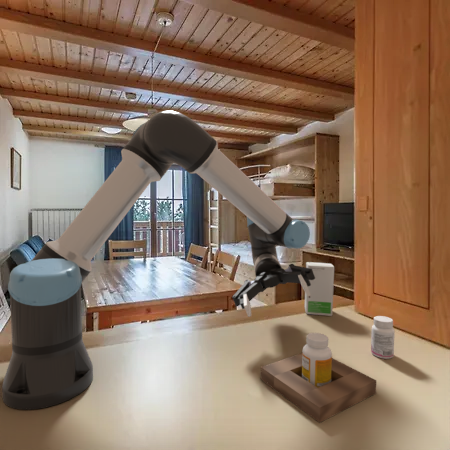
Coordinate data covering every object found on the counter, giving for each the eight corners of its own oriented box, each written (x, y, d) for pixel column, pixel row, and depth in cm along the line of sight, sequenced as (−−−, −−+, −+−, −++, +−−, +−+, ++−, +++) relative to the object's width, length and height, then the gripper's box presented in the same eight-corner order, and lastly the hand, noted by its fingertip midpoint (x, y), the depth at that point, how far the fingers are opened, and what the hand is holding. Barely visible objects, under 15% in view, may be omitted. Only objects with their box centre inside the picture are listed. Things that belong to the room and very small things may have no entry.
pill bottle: (374, 347, 78) (375, 313, 78) (395, 353, 75) (397, 318, 75) (368, 355, 75) (369, 319, 74) (390, 361, 72) (392, 324, 71)
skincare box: (305, 314, 101) (306, 265, 100) (304, 307, 108) (305, 261, 107) (333, 316, 100) (334, 266, 99) (330, 309, 106) (331, 262, 105)
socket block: (319, 422, 52) (319, 407, 51) (260, 379, 64) (260, 366, 64) (375, 393, 60) (376, 380, 59) (313, 359, 72) (313, 348, 72)
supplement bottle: (334, 383, 63) (335, 334, 62) (326, 397, 58) (328, 345, 58) (306, 375, 66) (308, 328, 65) (297, 388, 61) (298, 338, 60)
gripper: (315, 267, 90) (338, 297, 69) (231, 297, 93) (229, 334, 72) (306, 242, 89) (326, 265, 68) (222, 273, 92) (217, 304, 71)
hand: (277, 300), depth 70 cm, fingers open, 13 cm apart
